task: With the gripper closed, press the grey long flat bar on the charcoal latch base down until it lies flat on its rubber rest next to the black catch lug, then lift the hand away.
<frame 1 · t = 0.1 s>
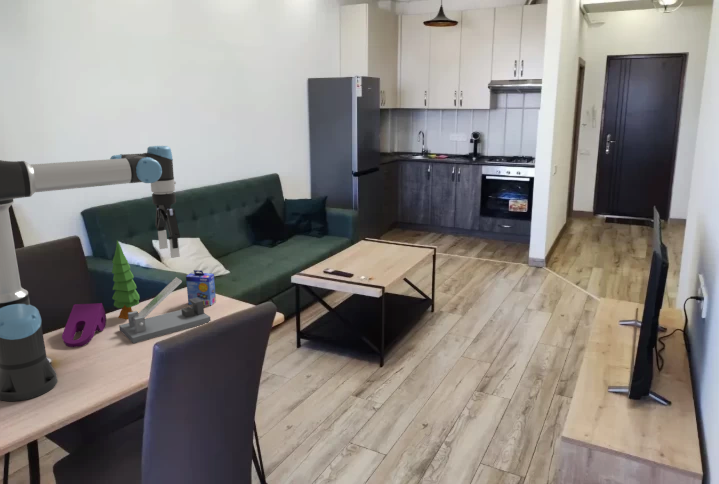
hand: (169, 252, 188), 28 cm above the table, tool pointing down, fingers open, 13 cm apart
mounting bracket: (84, 337, 188), on the table
latch base: (166, 326, 197), on the table
decorative tree: (129, 317, 205), on the table
grey long flat bar: (157, 300, 192), point 10 cm above the table, hinge at 35.0°
ink cartridge box: (202, 303, 219), on the table
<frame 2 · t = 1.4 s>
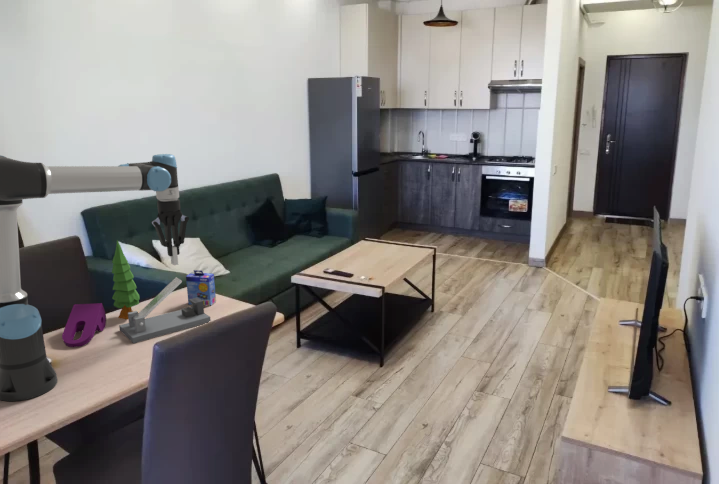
hand: (174, 264, 194), 23 cm above the table, tool pointing down, fingers closed
nothing on the table moved.
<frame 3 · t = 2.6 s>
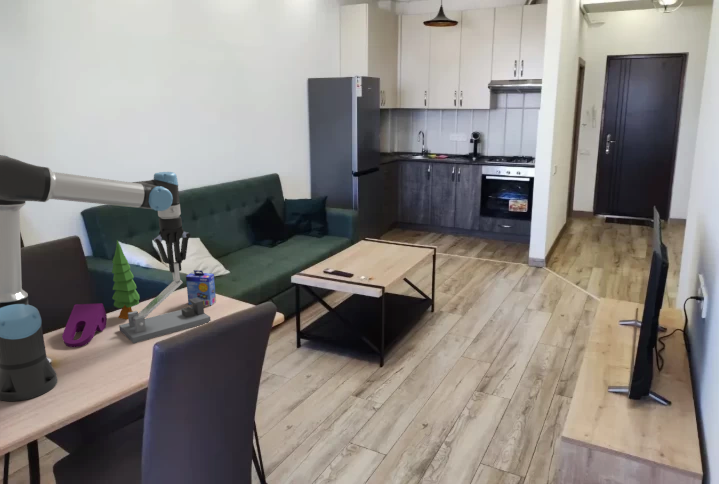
hand: (176, 280, 196), 16 cm above the table, tool pointing down, fingers closed
grey long flat bar: (157, 300, 193), point 10 cm above the table, hinge at 33.8°, touching gripper
everything else where it was.
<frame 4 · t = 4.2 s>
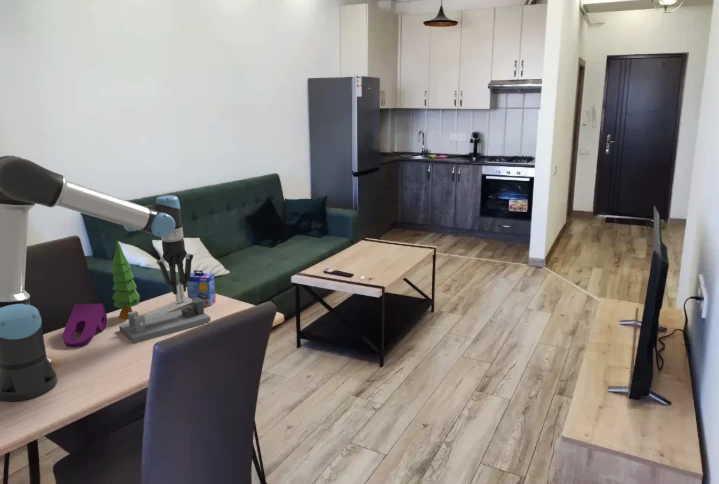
hand: (180, 301, 198), 8 cm above the table, tool pointing down, fingers closed, pressing on grey long flat bar
grey long flat bar: (162, 309, 195), point 6 cm above the table, hinge at 8.5°, touching gripper
everything else where it was.
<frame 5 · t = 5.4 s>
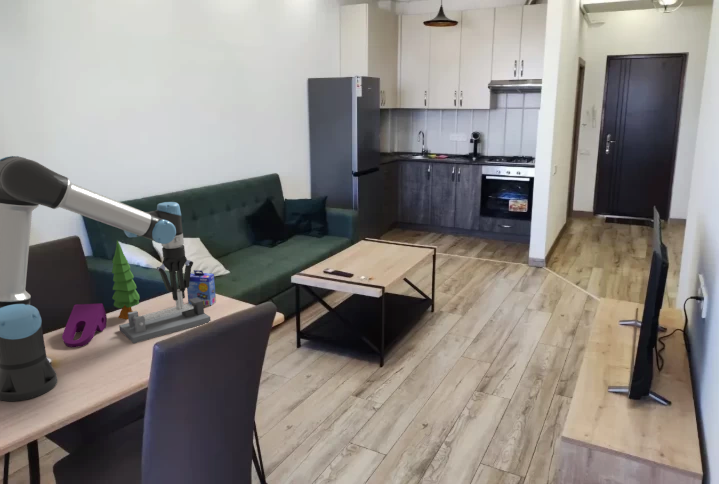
hand: (179, 307, 199), 6 cm above the table, tool pointing down, fingers closed
grey long flat bar: (163, 313, 195), point 5 cm above the table, hinge at 0.7°, touching gripper
everything else where it was.
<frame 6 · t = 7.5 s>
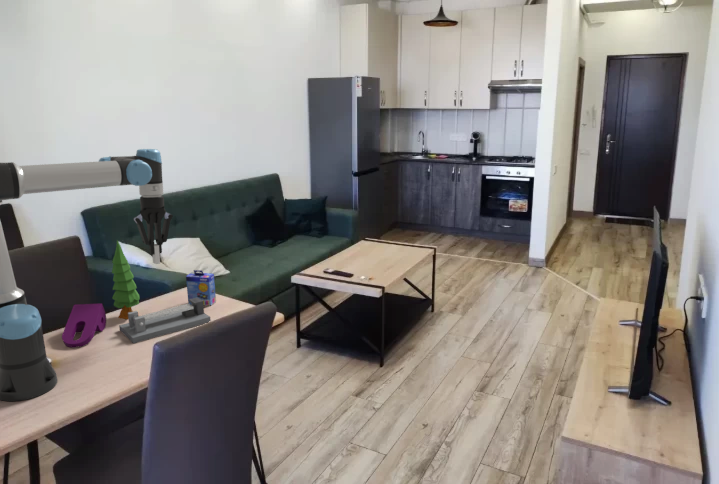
hand: (156, 262, 188), 25 cm above the table, tool pointing down, fingers closed
grey long flat bar: (163, 313, 195), point 5 cm above the table, hinge at 0.6°
everything else where it was.
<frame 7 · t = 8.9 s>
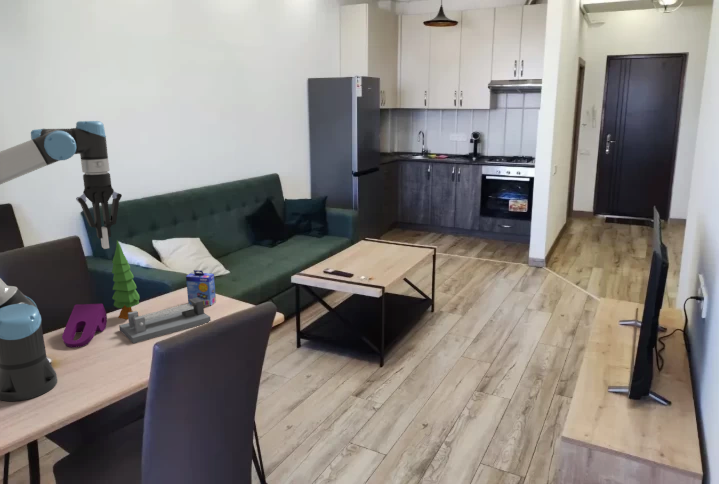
hand: (105, 247, 171), 34 cm above the table, tool pointing down, fingers closed
nothing on the table moved.
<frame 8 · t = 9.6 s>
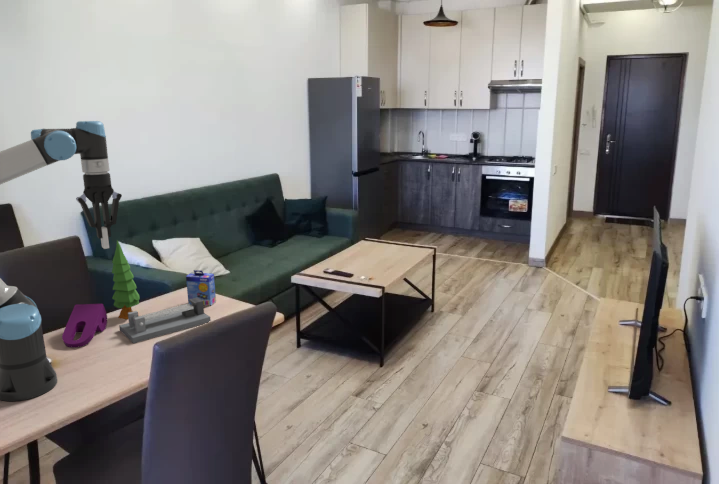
hand: (105, 247, 171), 34 cm above the table, tool pointing down, fingers closed
nothing on the table moved.
at the end: grey long flat bar at +1° (first picture: +35°) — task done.
